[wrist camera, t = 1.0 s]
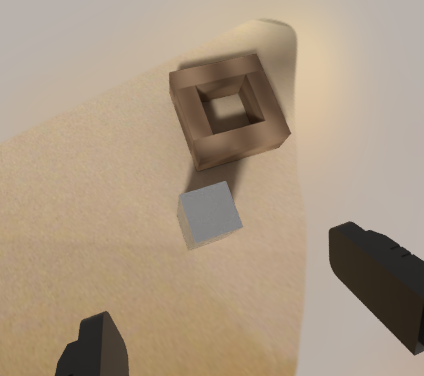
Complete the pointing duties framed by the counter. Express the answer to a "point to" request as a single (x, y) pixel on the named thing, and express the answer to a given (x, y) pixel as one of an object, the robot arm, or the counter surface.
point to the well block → (220, 87)
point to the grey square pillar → (207, 215)
